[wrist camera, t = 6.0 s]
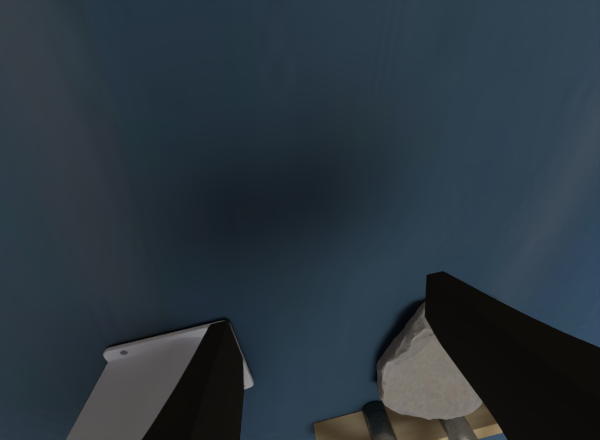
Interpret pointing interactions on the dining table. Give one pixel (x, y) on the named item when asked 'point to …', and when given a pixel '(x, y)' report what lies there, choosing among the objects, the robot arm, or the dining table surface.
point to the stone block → (423, 375)
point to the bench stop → (405, 426)
